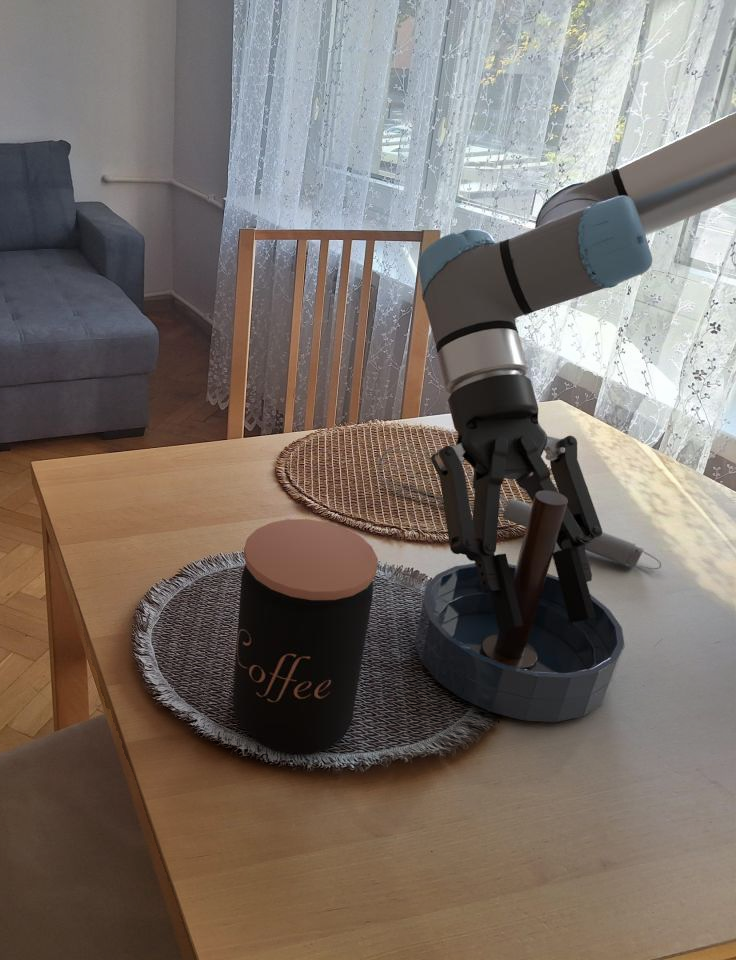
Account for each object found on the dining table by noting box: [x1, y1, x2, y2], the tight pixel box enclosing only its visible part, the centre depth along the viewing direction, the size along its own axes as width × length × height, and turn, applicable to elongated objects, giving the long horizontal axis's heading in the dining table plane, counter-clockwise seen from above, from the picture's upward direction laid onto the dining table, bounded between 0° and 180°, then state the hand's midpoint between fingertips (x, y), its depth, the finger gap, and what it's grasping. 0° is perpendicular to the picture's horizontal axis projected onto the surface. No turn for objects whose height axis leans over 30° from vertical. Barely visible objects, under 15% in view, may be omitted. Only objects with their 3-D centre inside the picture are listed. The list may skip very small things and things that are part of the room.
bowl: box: [414, 562, 626, 723], centre depth 83 cm, size 17×17×6 cm
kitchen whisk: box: [376, 444, 662, 570], centre depth 105 cm, size 6×34×6 cm, turn 48°
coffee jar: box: [232, 518, 379, 756], centre depth 74 cm, size 11×11×18 cm
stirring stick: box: [480, 490, 568, 671], centre depth 79 cm, size 5×5×18 cm
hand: (546, 623), depth 77 cm, fingers open, 6 cm apart
